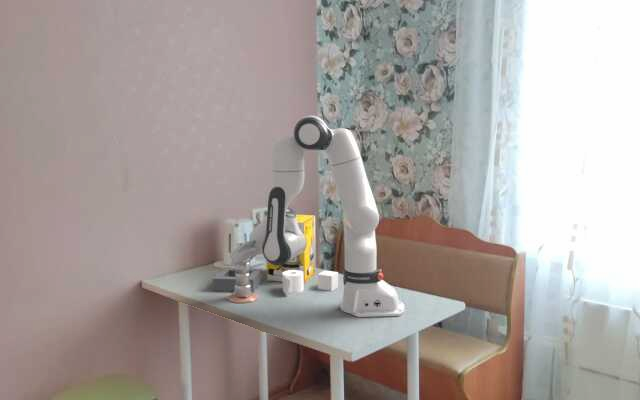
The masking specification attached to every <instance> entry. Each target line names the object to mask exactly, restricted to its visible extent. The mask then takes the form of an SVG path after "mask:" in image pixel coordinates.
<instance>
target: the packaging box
mask: <svg viewBox="0 0 640 400" xmlns="http://www.w3.org/2000/svg"><path fill="white" fill-rule="evenodd" d="M296 217H297V223H298V226H299V228H300V230H301V232H302V233H303V234H304V235H305V237H306V241H307V246H306V249H305V251H304V252H303V253H301V254H299V255H297V256H296V257H294V258H292V259H290V260H289V261H287V262H286V263H285V264H283V265H281V266H275V265H272V264H270V263H269V262H268V261H267V260H266V259H265V260H266V281H268V282H282V273H283V272H284V271H288V270H299V271H302V272H303V282H304V284H305V283H306V282H308V281H309V279H310V278H312V276H314V274H316V272H317V268H316V267H317V266H316V263H317V262H316V259H317V257H316V215H311V214H296Z"/></svg>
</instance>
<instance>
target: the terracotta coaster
mask: <svg viewBox="0 0 640 400" xmlns="http://www.w3.org/2000/svg"><path fill="white" fill-rule="evenodd" d="M258 299H259V295H258V294H257V293H254V292H251V294H250V296H248V297H237V296H236V294H235V293H232V294H231V295H229V296H228V301H229V302H231V303H232V304H233V303H234V304H248V303H254V302H255V301H257V300H258Z"/></svg>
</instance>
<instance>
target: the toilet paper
mask: <svg viewBox="0 0 640 400" xmlns="http://www.w3.org/2000/svg"><path fill="white" fill-rule="evenodd" d="M281 284H282V292H283V294H284V295H285V296H286V297H288V295H289V294H298V293H302V292H304V287H305V286H304V284H305V283H304V282H303V272H302V271H299V270H288V271H284V272H283V273H282V283H281Z"/></svg>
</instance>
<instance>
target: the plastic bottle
mask: <svg viewBox="0 0 640 400" xmlns="http://www.w3.org/2000/svg"><path fill="white" fill-rule="evenodd" d="M242 243H243V242H239V243H237V244H236V248H237V247H238V246H239V245H241V244H242ZM251 261H252V260H251V258H248V259H246V260H243V261H241V262H238V264H237V265H236V266H234V268H235V272H236V273H235V274H236V279H235V289H234V291H235V292H234V294H236V296H237V297H248V296H250V294H251V293H253V292H252V288H251V284H250V269H251Z"/></svg>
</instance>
